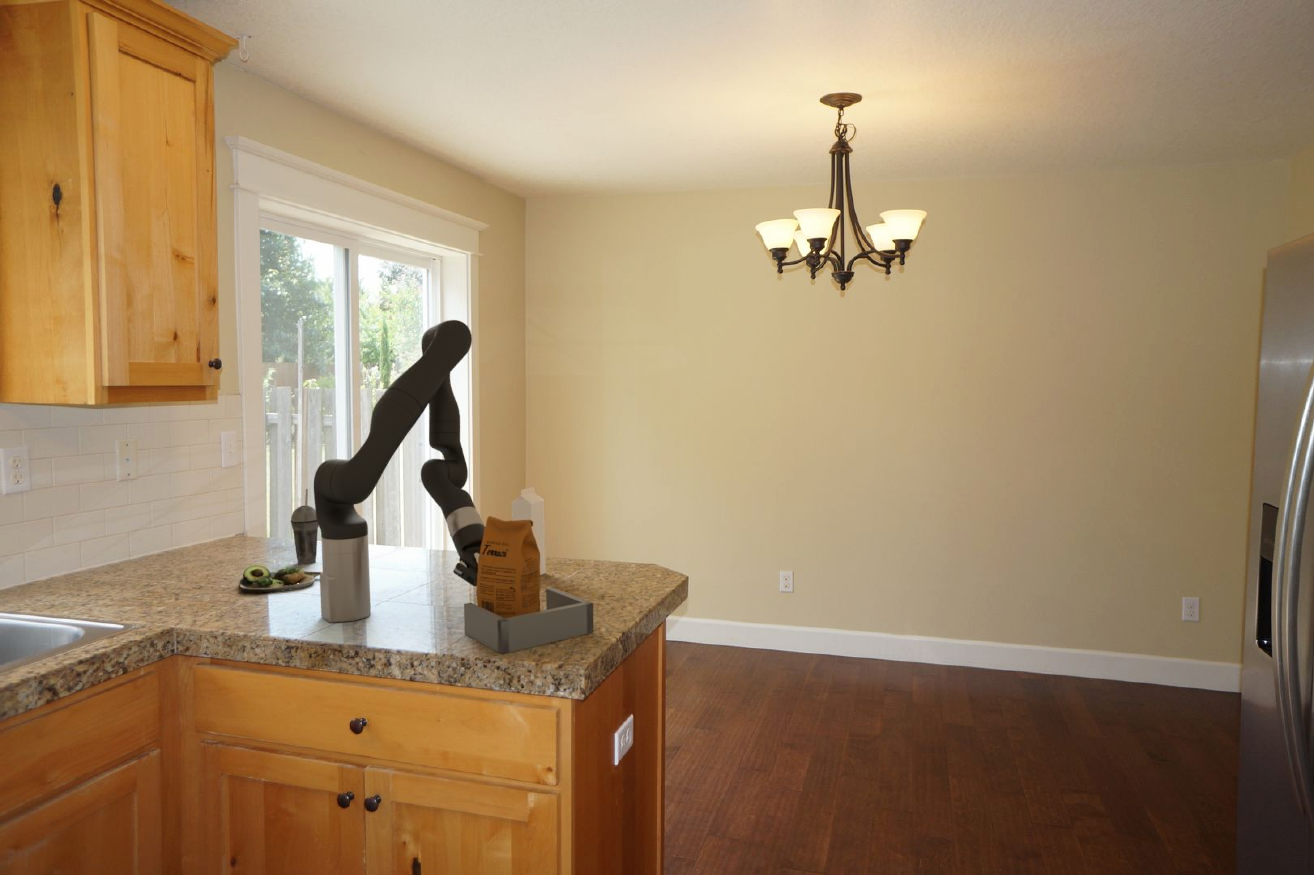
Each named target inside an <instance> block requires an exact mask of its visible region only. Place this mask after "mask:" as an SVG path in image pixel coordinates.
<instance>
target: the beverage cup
mask: <svg viewBox="0 0 1314 875" xmlns="http://www.w3.org/2000/svg"><path fill="white" fill-rule="evenodd" d="M308 490H309V489H308V488H306V489H305V498H304V500H305V501H304V502H305V503H304V505H301V506H299V507H297V508H295V509H294V511H292V515H291V518H290V523H291V528H292V532H293V539H294V547H295V554H296V560H297V564H298V565H302V564H304V565H311V564H315V563H316V562H317V552H318V550H317V549H318V548H317V547H318V533H319V532H318V530H319V525H318V523H317V519H316V510H315V507H312V506H311V505H308V496H309V495H308V494H309V493H308V492H309V491H308Z"/></svg>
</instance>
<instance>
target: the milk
mask: <svg viewBox="0 0 1314 875" xmlns="http://www.w3.org/2000/svg"><path fill="white" fill-rule="evenodd" d="M535 490H536V488H535V487H533V486H532V487H529V488H528V487H527V488H523V489H521V490H520V495H519V497H517V498H516V499H514V500H513V501H511V503H510V504H511V521H514V520H531V521H533V526H532V532H533V535H534V537H535V540H536V543H537V546H538V549H539V552H540V576H542V575H545V574H546V569H547V568H546V527H545V526H546V521H545V520H546V516H545V515H546V513H545V499H544V498H542V497H541V496H539V495H538V494H537V493H536V491H535Z"/></svg>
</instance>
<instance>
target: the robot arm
mask: <svg viewBox="0 0 1314 875" xmlns="http://www.w3.org/2000/svg"><path fill="white" fill-rule="evenodd" d="M472 340H473V337H472V331H471V330H470V327H469V326H468V325H467V324H466V323H465V322H463V321H461V320H458V319H450V320H449V319H447V320H444V321H442V322H440V323H437V324H435V325H433V326H431V327H429V328H428V329H427V330H426V331H425V332H424V333H423V335H422V337H421V353H422V355H421V357H419V359H417V361H415V363H413V364H412V365H411V366H409V367H408V368H407V369H406V370H405V371H403V372H402V373H401V374H400V375H399V376H398V377H396V379H395V380H394V381H393V382H392V383H391V384H390V385H389V386H388V388H387V389H386V390H385V391H384V392H383V394H382V395H381V397H380V398H379V400H378V401H377V403H376V404H375V405H374V407H373V409H372V413H371V418H370V419H371V420H370V425H369V426H370V428H369V434H368V436H367V438H366V439H365V441H364V443H363V445H362V446H361V447H360V448H359V450H358V451H357V452H356V453H355V454H354V455H353V457H352V458H350V459H342V458H340V459H339V458H332V459H327V460H325V461H324V462H322V463H321V464H319V466H318V467H317V468H316V471H315V474H314V479H313V497H314V498H313V499H314V509H315V510H316V519H317V523H318V525H319V526H318V528H319V529H320V533H321V534H320V535H321V536H320V537H321V563H322V565H321V566H322V571H319V572H320V575H319V587H320V590H319V591H320V609H321V610H320V612H321V615H320V616H321V618H323V619H324V620H325V621H327V622H328V623H336V622H337V623H338V622H339V623H340V622H342V623H343V622H352V621H357V620H358V621H359V620H361V619H365V618H368V617H369V616H371V612H372V611H371V610H372V609H371V607H372V606H371V604H372V603H371V584H370V583H371V581H370V558H369V557H370V555H369V554H370V553H369V550H370V549H369V547H370V546H369V527H368V523H367V520H366V519H364V518H363V517H362V516H361V515H360V514H359V513H358V512H357V510H356V508H355V505H359V504H362V502H364V501H365V500H367V499H368V498H369V497H370V495H371V494H373V491H374V490H375V488H376V486H377V485H378V482H380V479H381V477H382V475H383V473H384V472H385V470H386V468H387V466H388V464H389V463H390V461H391V460H392V457H393V456H394V454H395V452H397V450H398V449H399V447H400V446H401V444H402V443H403V441H404V440H405V438H406V437H407V435H408V434H409V433H410V431H411V430H412V429H413V427H414V426H415V425H416V423H417V422H418V420H419V419H420V417H421V416H422V414H423V413H424V412H425V410H426V409H427V407H428V414H429V415H428V418H429V420H428V444H429V446H430V448H432V449H434V450H436V451H438V452H440V453H441V454H442V457H443V458H442V459H441V458H430V459H428V460H425V462H424V463H423V464H422V466H421V469H420V480H421V482H422V485H423V488H424V489H425V490H426V492H427V493H428V494H429V496H430V497H431V498H432V499H433V501H434V502H435V503H436V504H437V505H438V507H439V508H440V510H441V511H442V512H441V513H442V514H443V518H444V519H445V522H446V525H447V529H448V532H449V536H450V538H451V540H452V543H453V545H454V548H455V550H456V553H457V556H458V557H459V560H458V561H459V562H457V563H456V564H455V567H454V568H453V571H452V572H453V573H454V575H456V576H457V577H459V578H460V579H462V580H463V581H465V582H467V583H468V584H470V585H471V586H473V587H477V574H478V559H479V555H480V550H481V544H482V540H483V535H484V529H485V526H486V525H485V524H484V521H483V519H482V517H481V515H480V514H479V512H478V511H477V509H476V506H475V504H474V501H473V499H472V496H471V495H470V493H469V492H468V490H465V489H464V488H465V485H466V483H467V481H468V478H469V477H468V476H469V474H468V473H469V472H468V471H469V469H468V466H467V462H466V457H465V455H464V450H463V446H462V443H461V413H460V412H461V411H460V408H459V404H458V402H457V400H456V396H455V394H454V391H453V388H452V383H451V372H452V371H453V370H454V369H455V368H456V367H457V365H458V364H459V363H460V362H462V360H463V359H464V358H465V356H467V354H468V353H469V351H470V349H471V347H472V343H473V342H472Z"/></svg>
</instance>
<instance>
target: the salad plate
mask: <svg viewBox="0 0 1314 875" xmlns="http://www.w3.org/2000/svg"><path fill="white" fill-rule="evenodd" d="M320 572H321V571H306V570H304V567H302V568H301V569H300V568H298V566H296V567H289V566H287V567H285V568H282V569H279V570H278V571H277V572H273V571H272V572H270V569H268V568H266V567H265V566H263V565H257V564H255V565H250V566H248V567H246V568H245V569H244V570H243V573H242V578H241V579H240V580H239V581H238V583H239V588H238V589H239V591H240V592H241V593H243V594H251V595H252V594H253V595H260V594H261V593H262V594H271V593H270V592H272V593H277V592H276V591H280V592H283V591H282V590H287V591H290V590H289V589H293V590H299V589H303V587H304V588H306V586H307V587H309V585H310V586H311V584H314V583H315V578H317V577H318V576H319V577H320ZM297 583H299V584H297ZM291 584H293V585H291ZM294 584H295V585H294ZM284 585H288V586H284ZM283 586H284V587H283Z"/></svg>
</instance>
